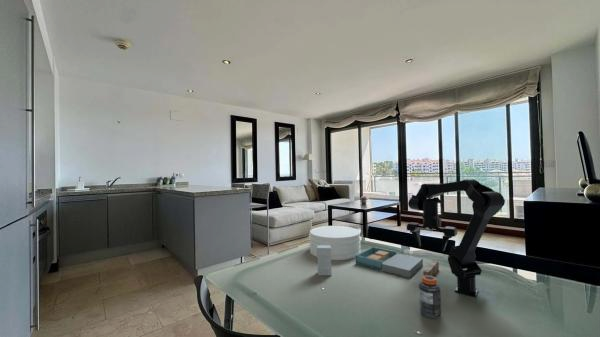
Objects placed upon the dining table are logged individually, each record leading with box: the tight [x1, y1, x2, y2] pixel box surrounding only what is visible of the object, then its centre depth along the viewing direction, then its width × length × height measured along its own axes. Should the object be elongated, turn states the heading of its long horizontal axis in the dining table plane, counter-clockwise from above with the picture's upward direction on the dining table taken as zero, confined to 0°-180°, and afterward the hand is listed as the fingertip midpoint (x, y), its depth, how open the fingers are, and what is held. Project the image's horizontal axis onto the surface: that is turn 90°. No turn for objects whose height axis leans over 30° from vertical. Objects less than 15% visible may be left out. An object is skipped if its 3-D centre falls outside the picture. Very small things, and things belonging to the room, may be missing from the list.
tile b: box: [375, 250, 389, 260], centre depth 128 cm, size 5×5×2 cm
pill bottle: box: [418, 275, 442, 319], centre depth 80 cm, size 6×6×11 cm
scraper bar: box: [422, 259, 440, 277], centre depth 109 cm, size 16×2×4 cm, turn 139°
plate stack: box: [309, 225, 362, 261], centre depth 143 cm, size 28×28×12 cm
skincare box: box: [316, 245, 333, 276], centre depth 112 cm, size 6×4×12 cm
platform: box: [381, 253, 424, 278], centre depth 117 cm, size 18×12×3 cm, turn 138°
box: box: [355, 246, 398, 271], centre depth 125 cm, size 18×13×4 cm
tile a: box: [368, 254, 382, 261], centre depth 122 cm, size 5×5×2 cm
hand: (431, 248), depth 109 cm, fingers open, 9 cm apart
